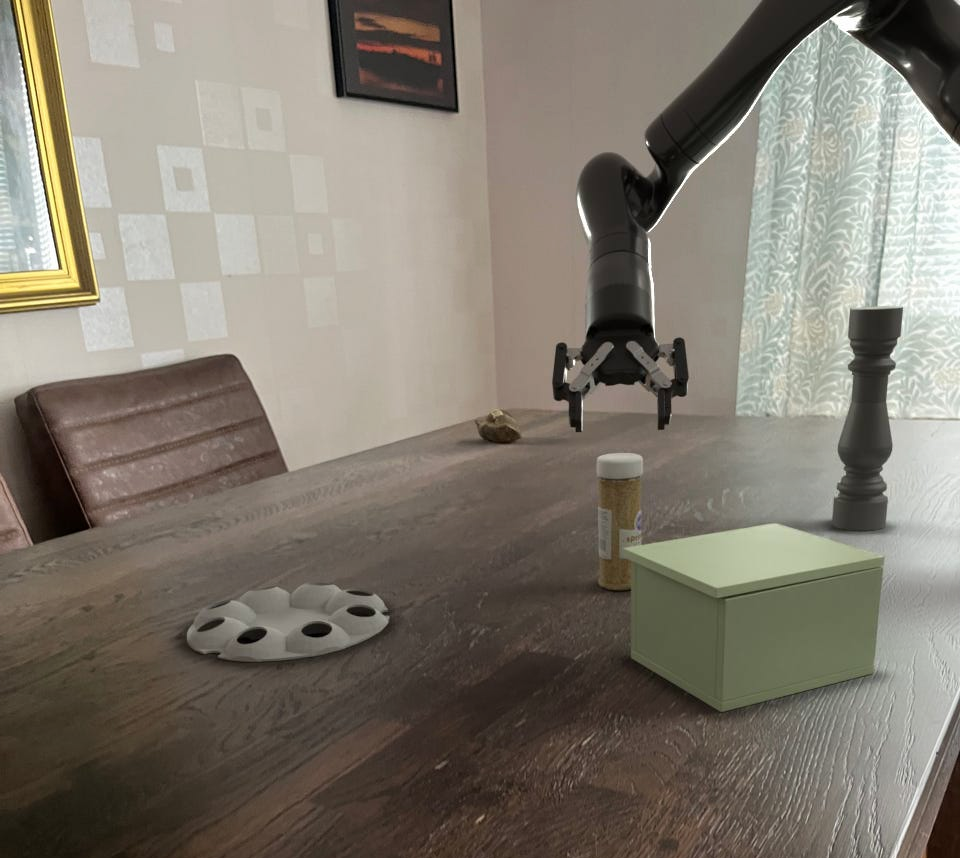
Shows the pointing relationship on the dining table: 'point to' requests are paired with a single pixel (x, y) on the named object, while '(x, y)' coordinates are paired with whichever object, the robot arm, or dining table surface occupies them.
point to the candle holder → (867, 420)
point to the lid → (750, 559)
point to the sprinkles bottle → (618, 516)
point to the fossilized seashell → (499, 427)
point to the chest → (755, 635)
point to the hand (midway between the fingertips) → (619, 426)
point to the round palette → (287, 623)
